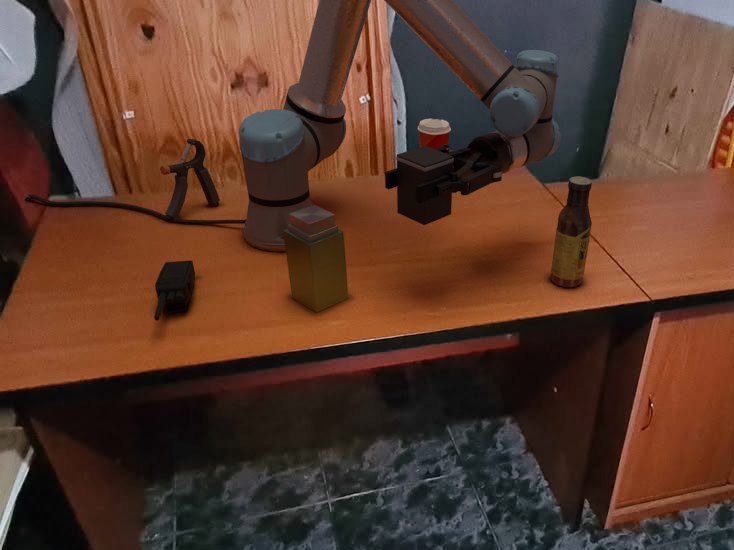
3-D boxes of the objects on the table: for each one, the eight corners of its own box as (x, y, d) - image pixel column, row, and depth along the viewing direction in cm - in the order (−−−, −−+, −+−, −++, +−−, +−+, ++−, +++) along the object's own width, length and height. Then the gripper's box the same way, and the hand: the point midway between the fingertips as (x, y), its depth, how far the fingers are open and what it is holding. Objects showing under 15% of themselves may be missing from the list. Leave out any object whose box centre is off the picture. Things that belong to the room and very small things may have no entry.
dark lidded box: (396, 212, 115) (396, 154, 109) (424, 202, 119) (425, 145, 113) (424, 225, 112) (425, 166, 106) (451, 214, 116) (454, 156, 110)
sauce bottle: (581, 291, 128) (597, 190, 116) (547, 286, 129) (560, 185, 117) (583, 274, 133) (599, 176, 122) (551, 269, 134) (564, 171, 122)
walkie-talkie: (206, 265, 124) (195, 316, 108) (185, 289, 126) (171, 343, 109) (175, 244, 121) (159, 293, 105) (154, 269, 122) (135, 321, 106)
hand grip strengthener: (164, 221, 142) (147, 149, 133) (214, 202, 150) (201, 133, 141) (171, 224, 141) (154, 152, 132) (221, 205, 149) (208, 136, 141)
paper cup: (421, 173, 170) (421, 116, 161) (451, 176, 169) (453, 119, 161) (414, 185, 164) (414, 126, 155) (446, 189, 163) (447, 130, 155)
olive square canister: (291, 297, 121) (280, 213, 112) (323, 283, 126) (315, 201, 116) (316, 313, 118) (307, 227, 108) (348, 298, 122) (342, 214, 112)
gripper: (536, 190, 120) (445, 229, 106) (455, 158, 130) (362, 191, 116) (541, 148, 116) (447, 183, 101) (457, 118, 126) (360, 147, 111)
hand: (402, 187), depth 108 cm, fingers closed on dark lidded box, 6 cm apart
